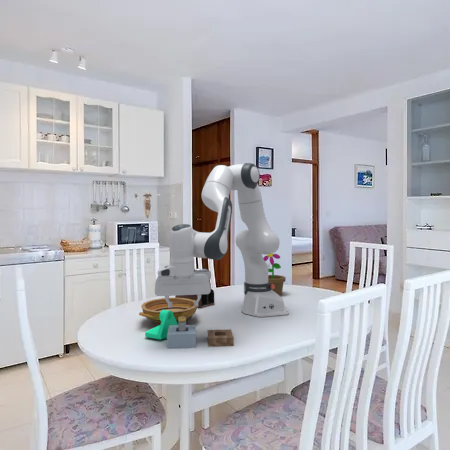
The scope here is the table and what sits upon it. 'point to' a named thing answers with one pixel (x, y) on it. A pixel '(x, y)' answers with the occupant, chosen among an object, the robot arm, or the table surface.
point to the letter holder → (201, 299)
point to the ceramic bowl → (178, 308)
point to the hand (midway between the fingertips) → (183, 306)
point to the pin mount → (220, 338)
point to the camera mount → (162, 325)
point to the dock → (181, 337)
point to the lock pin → (182, 323)
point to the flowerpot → (275, 279)
